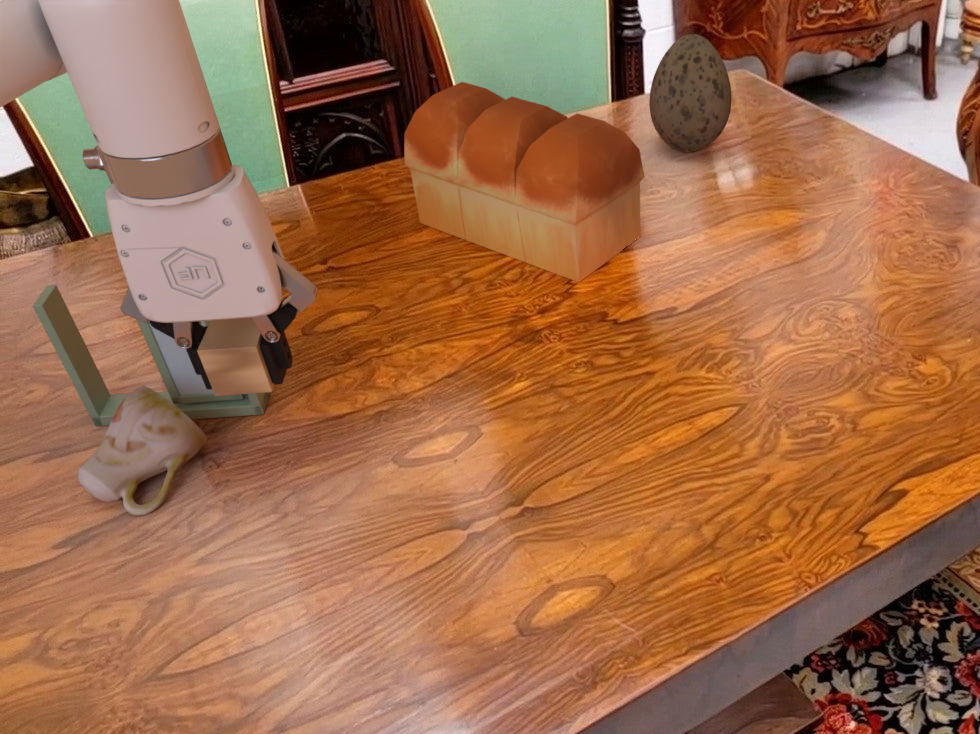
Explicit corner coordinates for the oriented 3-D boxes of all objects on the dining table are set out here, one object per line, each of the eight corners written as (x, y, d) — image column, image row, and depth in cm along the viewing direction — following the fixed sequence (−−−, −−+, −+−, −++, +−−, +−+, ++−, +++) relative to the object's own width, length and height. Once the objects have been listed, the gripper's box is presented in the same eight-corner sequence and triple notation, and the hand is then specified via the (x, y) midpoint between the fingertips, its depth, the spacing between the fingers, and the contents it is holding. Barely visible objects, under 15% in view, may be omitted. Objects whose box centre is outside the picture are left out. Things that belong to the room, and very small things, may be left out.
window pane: (172, 407, 84) (98, 241, 73) (176, 397, 85) (104, 233, 74) (242, 402, 85) (179, 237, 74) (245, 392, 86) (184, 228, 75)
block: (215, 396, 73) (196, 350, 70) (228, 363, 77) (211, 318, 74) (272, 392, 74) (256, 346, 71) (282, 359, 77) (267, 314, 74)
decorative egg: (721, 169, 122) (727, 52, 113) (641, 161, 124) (640, 46, 115) (734, 135, 130) (741, 23, 120) (659, 129, 132) (659, 18, 122)
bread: (645, 237, 109) (643, 113, 100) (580, 284, 102) (571, 156, 92) (485, 183, 120) (470, 67, 110) (415, 223, 113) (392, 102, 103)
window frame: (95, 426, 85) (31, 305, 76) (106, 404, 87) (46, 284, 78) (264, 414, 86) (220, 294, 77) (270, 393, 88) (229, 273, 79)
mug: (64, 500, 78) (61, 382, 76) (182, 485, 85) (183, 377, 83) (100, 524, 73) (98, 398, 71) (222, 506, 81) (223, 392, 79)
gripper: (17, 194, 60) (126, 414, 72) (286, 178, 61) (349, 397, 73) (60, 145, 65) (154, 356, 77) (306, 131, 66) (361, 342, 78)
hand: (248, 374), depth 75 cm, fingers closed on block, 4 cm apart
